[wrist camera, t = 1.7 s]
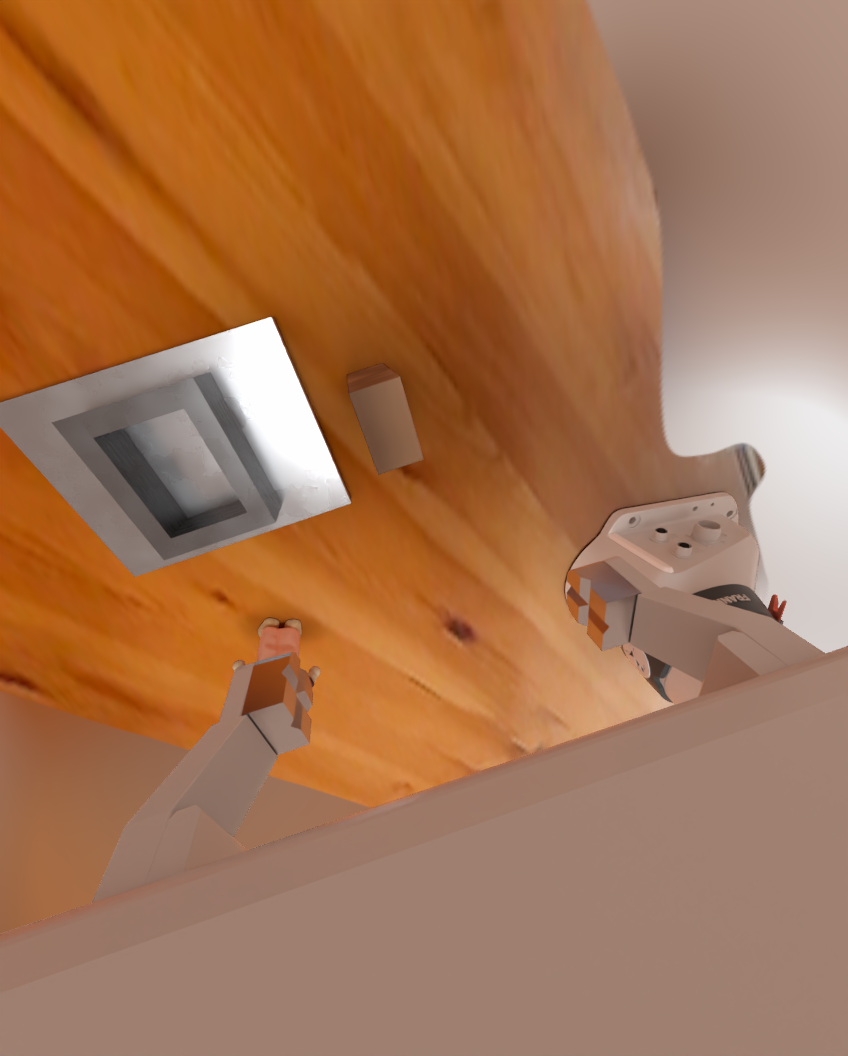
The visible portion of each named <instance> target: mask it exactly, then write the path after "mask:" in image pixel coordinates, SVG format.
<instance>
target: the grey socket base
mask: <svg viewBox="0 0 848 1056" xmlns="http://www.w3.org/2000/svg"><path fill="white" fill-rule="evenodd" d="M0 427H1V428H2V430H3V431H4V432H5V433H6V434H7V435H8V436H9V437H10V438H11V440H12V441H13V442H14V443H15V444H16V445H17V446H18V447H19V448H20V450H21V451H22V452H23V453H24V454H25V455H26V456H27V457H28V459H29V460H30V461H31V462H32V463H33V464H34V465H35V466H36V467H37V469H38V470H39V471H40V472H41V473H42V474H43V475H44V476H45V477H46V479H47V480H48V481H49V482H50V483H51V484H52V485H53V486H54V487H55V489H56V490H57V491H58V492H59V493H60V494H61V495H62V496H63V497H64V499H65V500H66V501H67V502H68V503H69V504H70V505H71V506H72V508H73V509H74V510H75V511H76V512H77V513H78V514H79V515H80V516H81V518H82V519H83V520H84V521H85V522H86V523H87V524H88V525H89V526H90V528H91V529H92V530H93V531H94V532H95V533H96V534H97V535H98V536H99V538H100V539H101V540H102V541H103V542H104V543H105V544H106V545H107V547H108V548H109V549H110V550H111V551H112V552H113V553H114V554H115V555H116V557H117V558H118V559H119V560H120V561H121V562H122V563H123V564H124V565H125V567H126V568H127V569H128V570H129V571H130V572H131V573H132V574H133V575H134V577H136V576H139V575H142V574H144V573H147V572H150V571H153V570H156V569H159V568H162V567H165V566H168V565H171V564H174V563H177V562H180V561H183V560H186V559H189V558H192V557H195V556H198V555H200V554H203V553H206V552H209V551H212V550H215V549H218V548H221V547H224V546H227V545H230V544H233V543H236V542H239V541H242V540H245V539H248V538H251V537H254V536H256V535H259V534H262V533H265V532H268V531H271V530H274V529H277V528H280V527H283V526H286V525H289V524H292V523H295V522H298V521H301V520H304V519H307V518H309V517H312V516H315V515H318V514H321V513H324V512H327V511H330V510H333V509H336V508H339V507H342V506H345V505H348V504H351V497H350V495H349V492H348V490H347V488H346V485H345V483H344V481H343V478H342V476H341V474H340V471H339V469H338V467H337V464H336V462H335V459H334V457H333V455H332V452H331V450H330V448H329V445H328V443H327V441H326V438H325V436H324V434H323V431H322V429H321V427H320V424H319V422H318V419H317V417H316V415H315V412H314V410H313V408H312V405H311V403H310V401H309V398H308V396H307V394H306V391H305V389H304V387H303V384H302V382H301V380H300V377H299V375H298V372H297V370H296V368H295V365H294V363H293V361H292V358H291V356H290V354H289V351H288V349H287V347H286V344H285V342H284V340H283V337H282V335H281V332H280V330H279V328H278V325H277V323H276V321H275V318H274V317H269V318H266V319H263V320H260V321H257V322H254V323H250V324H247V325H244V326H241V327H238V328H235V329H231V330H228V331H225V332H222V333H219V334H216V335H212V336H209V337H206V338H203V339H200V340H197V341H193V342H190V343H187V344H184V345H181V346H178V347H175V348H171V349H168V350H165V351H162V352H159V353H156V354H152V355H149V356H146V357H143V358H140V359H137V360H133V361H130V362H127V363H124V364H121V365H118V366H114V367H111V368H108V369H105V370H102V371H99V372H95V373H92V374H89V375H86V376H83V377H80V378H77V379H73V380H70V381H67V382H64V383H61V384H58V385H54V386H51V387H48V388H45V389H42V390H39V391H35V392H32V393H29V394H26V395H23V396H20V397H16V398H13V399H10V400H7V401H4V402H1V403H0Z"/></svg>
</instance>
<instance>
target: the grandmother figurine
mask: <svg viewBox="0 0 848 1056" xmlns="http://www.w3.org/2000/svg"><path fill="white" fill-rule="evenodd" d="M279 625H280V623H279V621H278V620H277V619H273V618H268V619H266V620H265V621H264V622H263V623H262V624H261V626H260V627H259V629H258V635H259V636H260V637H261V638H260V642H259V649H258V655H257V661H261V660H264V659H268V658H272V657H276V656H279V655H283V654H287V653H291V652H295V653H296V654H297V656H299V650H300V636H301V634H302V628H301V622H300V621H299V620H296V619H290V620H287V621H286V623H285V626H284V628H281V629H278V628H279ZM244 665H245V662H244V661H243V660H237V661H236V662H235V663H234V664H233V670H234V671H235V670H236V669H237V668H238V667H240V666H244ZM307 674H308V676H309V678H310V681H311V684H312V687H313V686H314V682H315V680H316V677H318V676H319V674H320V669H319V667H317V666H313V667H312V668H311V669H310V670H309V673H307Z"/></svg>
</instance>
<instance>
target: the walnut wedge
mask: <svg viewBox="0 0 848 1056" xmlns="http://www.w3.org/2000/svg"><path fill="white" fill-rule="evenodd" d="M347 382H348V392H349V396H350V399H351V401H352V404H353V407H354V410H355V412H356V415H357V418H358V420H359V423H360V426H361V429H362V431H363V434H364V437H365V440H366V442H367V445H368V448H369V451H370V453H371V456H372V459H373V461H374V464H375V467H376V470H377V472H378V475H379V474H382V473H385V472H388V471H391V470H394V469H397V468H400V467H402V466H405V465H408V464H411V463H414V462H417V461H420V460H423V459H424V458H423V455H422V451H421V448H420V444H419V441H418V437H417V434H416V430H415V427H414V423H413V420H412V416H411V413H410V409H409V406H408V402H407V399H406V395H405V392H404V388H403V385H402V381H401V378H400V376H399V375H397V374H396V373H395V372H394V371H392V370H391V369H390V368H388V367H387V366H386V365H385V364H383V363H381V364H378V365H375V366H372V367H369V368H366V369H363V370H360V371H357V372H353V373H350V374H347Z"/></svg>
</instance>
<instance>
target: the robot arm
mask: <svg viewBox="0 0 848 1056" xmlns="http://www.w3.org/2000/svg"><path fill="white" fill-rule="evenodd" d="M738 520H739V516H738V508H737V504H736V502H735V500H734V498H733V497H732V496H731V495H729V494H727V493H726V492H719V493H713V494H707V495H701V496H695V497H690V498H684V499H678V500H672V501H666V502H660V503H655V504H649V505H643V506H637V507H631V508H625V509H620V510H618V511H616V512H614V513H613V514H612V515H611V517H610V518H609V519H608V521H607V523H606V524H605V526H604V528H603V529H602V531H601V533H600V534H599V536H598V537H597V538H596V539H595V540H594V541H593V542H592V543H591V544H590V545H589V546H587V547H586V548H585V550H584V551H583V552H582V553H581V554H580V555H579V557H578V558H577V559H576V561H575V562H574V564H573V566H572V568H571V570H569V572H568V574H567V581H566V586H565V595H566V599H567V604H568V607H569V610H570V612H571V614H572V615H573V617H574V618H575V620H576V621H577V622H578V623H580V624H582V625H585V626H587V627H588V628H587V634H588V635H589V636H590V638H591V639H592V640H593V641H594V642H595V644H596V645H597V646H598V647H599V648H600V650H601V651H603V650H607V649H610V648H614V647H617V646H620V647H621V648H622V651H623V652H624V654H625V655H626V656H627V658H628V659H629V661H630V662H631V663H632V665H633V666H634V667H635V668H636V670H637V671H638V672H639V673H640V674H641V675H642V676H643V677H644V678H645V679H646V680H647V681H648V682H649V683H650V685H651V686H652V687H653V688H654V689H655V690H656V691H657V692H658V693H659V694H660V695H661V696H662V697H663V698H664V699H665V700H667V701H669V702H672V703H674V704H675V705H673V706H670V707H667V708H664V709H661V710H658V711H655V712H652V713H649V714H647V715H644V716H641V717H638V718H635V719H632V720H629V721H626V722H623V723H620V724H617V725H614V726H611V727H608V728H605V729H602V730H599V731H597V732H594V733H591V734H588V735H585V736H582V737H579V738H576V739H573V740H570V741H567V742H564V743H561V744H558V745H555V746H552V747H549V748H547V749H544V750H541V751H538V752H535V753H532V754H529V755H526V756H523V757H520V758H517V759H514V760H511V761H508V762H505V763H502V764H500V765H497V766H494V767H491V768H488V769H485V770H482V771H479V772H476V773H473V774H470V775H467V776H464V777H461V778H459V779H456V780H453V781H450V782H447V783H444V784H441V785H438V786H435V787H432V788H429V789H426V790H423V791H420V792H417V793H415V794H412V795H409V796H406V797H403V798H400V799H397V800H394V801H391V802H388V803H385V804H382V805H379V806H376V807H373V808H370V809H367V810H365V811H362V812H359V813H356V814H353V815H350V816H347V817H344V818H341V819H338V820H335V821H332V822H329V823H326V824H323V825H321V826H317V827H315V828H312V829H309V830H306V831H303V832H300V833H297V834H294V835H291V836H288V837H285V838H282V839H279V840H277V841H273V842H270V843H267V844H264V845H262V846H259V847H256V848H253V849H250V850H246V849H245V848H244V847H243V846H242V845H241V844H240V843H239V842H238V841H237V840H235V839H234V838H233V837H234V836H235V833H236V832H237V830H238V828H239V827H240V825H241V823H242V821H243V819H244V817H245V816H246V814H247V812H248V810H249V808H250V807H251V805H252V803H253V801H254V799H255V798H256V796H257V794H258V792H259V790H260V789H261V786H262V785H263V783H264V781H265V780H266V778H267V776H268V774H269V772H270V770H271V769H272V767H273V765H274V763H275V761H276V760H277V758H278V756H277V755H279V754H282V753H285V752H288V751H291V750H294V749H297V748H299V747H302V746H305V745H308V744H310V733H311V718H310V717H309V715H308V713H307V712H308V711H309V709H310V708H311V706H312V703H313V692H312V684H311V681H310V678H309V676H308V674H307V672H306V671H305V670H303V669H301V668H300V659H299V657H298V656H297V654H296V653H295V652H291V653H287V654H283V655H279V656H276V657H272V658H268V659H264V660H261V661H257V662H255V663H251V664H247V665H244V666H240V667H238V668H237V669H236V670H235V672H234V674H233V677H232V681H231V684H230V687H229V690H228V694H227V697H226V700H225V703H224V707H223V710H222V713H221V716H220V720H219V723H217V724H214V725H212V726H211V727H210V729H209V730H208V731H207V732H206V733H205V734H204V735H203V737H202V738H201V739H200V740H199V741H198V742H197V744H196V745H195V746H194V747H193V748H192V749H191V750H190V752H189V753H188V754H187V755H186V756H185V757H184V759H183V760H182V761H181V762H180V763H179V764H178V765H177V767H176V768H175V769H174V770H173V771H172V772H171V774H170V775H169V776H168V777H167V778H166V779H165V780H164V782H163V783H162V784H161V785H160V786H159V787H158V789H157V790H156V791H155V792H154V793H153V794H152V795H151V797H150V798H149V799H148V800H147V801H146V802H145V804H144V805H143V806H142V807H141V808H140V809H139V810H138V812H137V813H136V814H135V815H134V816H133V817H132V819H131V820H130V821H129V822H128V823H127V824H126V826H125V827H124V830H123V832H122V835H121V837H120V839H119V841H118V844H117V846H116V848H115V851H114V853H113V855H112V858H111V860H110V862H109V865H108V867H107V869H106V871H105V874H104V876H103V878H102V881H101V883H100V885H99V887H98V890H97V892H96V894H95V897H94V899H93V901H92V903H91V904H88V905H85V906H82V907H79V908H76V909H73V910H70V911H67V912H64V913H61V914H58V915H55V916H52V917H49V918H47V919H44V920H40V921H38V922H34V923H32V924H29V925H26V926H23V927H20V928H17V929H14V930H11V931H8V932H5V933H2V934H0V1056H848V646H846V647H844V648H841V649H838V650H835V651H832V652H829V653H826V654H825V653H824V652H822V651H821V650H819V649H818V648H816V647H815V646H813V645H812V644H810V643H809V642H807V641H806V640H804V639H802V638H801V637H799V636H798V635H797V634H795V633H794V632H792V631H791V630H789V629H787V628H786V627H784V626H783V625H782V624H783V621H782V620H781V617H782V614H783V611H784V608H785V605H786V601H783V602H782V604H781V605H780V607H779V608H778V598H777V595H773V596H772V598H771V601H770V604H769V607H768V609H767V608H766V606H765V605H764V604H763V602H762V601H761V600H760V599H759V597H758V596H757V595H756V594H755V587H756V580H757V572H758V565H759V548H758V544H757V542H756V540H755V538H754V537H753V535H752V534H751V533H750V532H749V531H748V530H746V529H745V528H744V527H742V526H741V525H739V524H738Z"/></svg>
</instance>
